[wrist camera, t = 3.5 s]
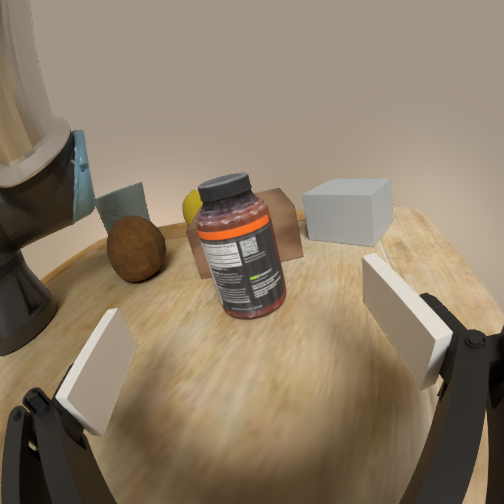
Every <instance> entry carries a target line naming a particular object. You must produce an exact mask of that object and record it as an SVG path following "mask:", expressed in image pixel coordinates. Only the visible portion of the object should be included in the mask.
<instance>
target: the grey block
mask: <svg viewBox="0 0 504 504" xmlns="http://www.w3.org/2000/svg"><path fill="white" fill-rule="evenodd" d="M302 200H303V205H304V211H305V217H306V223H307V229H308V236H309V240H318V241H327V242H336V243H345V244H353V245H361V246H370V247H375V245H376V244H377V243H378V241H379V240H380V239H381V237H382V236H383V235H384V233H385V232H386V230H387V229H388V228H389V226H390V225H391V223H392V222H393V204H392V191H391V179H332V180H330V181H328V182H326V183H324V184H322V185H320V186H318V187H316V188H314V189H312V190H310V191H308V192H306V193H304V194H302Z"/></svg>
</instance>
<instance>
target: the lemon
mask: <svg viewBox="0 0 504 504" xmlns="http://www.w3.org/2000/svg"><path fill="white" fill-rule="evenodd" d="M202 204H203V202H202V201H201V200H200V195H199V191H196V190H192V191H191V192H190V194H188V195H187V196H186V198H185V199H184V201H183V215H184V219H185V221H186V223H187V225H188V226H189V225H190V223H191V222H192V220H193V218H194V217H195V215H196V213H197V212H198V210H199V208H200V207H201V206H202Z"/></svg>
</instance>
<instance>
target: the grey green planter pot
mask: <svg viewBox="0 0 504 504" xmlns="http://www.w3.org/2000/svg"><path fill="white" fill-rule="evenodd" d="M95 200H96V208H97V210H98V212H99V214H100V217H101V220H102V222H103V224H104V227H105V228H106V231H107V233H109V231H110V229H111V228H112V226H113V225H114V223H115V221H117V220H119V219H121V218H122V217H124V216H128V215H131V216H141V217H143V218H145V219H147V220H149V221H150V218H149V214H148V209H147V204H146V201H145V195H144V190H143V185H142V182H140V183H137V184H134V185H130V186H128V187H125V188H122V189H119V190H117V191H114V192H111V193H109V194H106V195H104V196H101V197H99V198H97V199H95Z"/></svg>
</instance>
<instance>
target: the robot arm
mask: <svg viewBox="0 0 504 504" xmlns="http://www.w3.org/2000/svg"><path fill="white" fill-rule="evenodd" d="M95 205H96V200H95V195H94V190H93V185H92V180H91V175H90V169H89V163H88V156H87V150H86V143H85V135H84V131H83V130H74V131H73V132H71V130H70V126H69V124H68V122H67V120H66V119H64V118H62V117H58V116H54V115H53V114H52V111H51V108H50V105H49V101H48V97H47V94H46V90H45V86H44V82H43V78H42V74H41V69H40V65H39V60H38V55H37V50H36V44H35V38H34V30H33V22H32V13H31V0H0V356H1V355H5V354H8V353H10V352H12V351H14V350H16V349H18V348H20V347H21V346H23V345H24V344H26V343H27V342H28V341H30V340H31V339H32V338H33V337H35V336H36V335H37V334H38V333H39V332H40V331H41V330H42V329H43V328H44V327H45V326H46V325H47V324H48V322H49V321H50V320H51V319H52V317H53V315H54V314H55V312H56V309H57V304H56V302H55V300H54V298H53V296H52V294H51V293H50V291H49V290H48V289H47V288H46V287H45V286H44V285H43V283H42V282H41V281H40V280H39V279H38V278H37V277H36V275H35V274H33V272H32V271H31V270H30V268H29V267H28V266H27V264H26V262H25V260H24V257H23V255H22V253H21V250H20V249H21V248H23V247H25V246H27V245H29V244H31V243H33V242H35V241H37V240H39V239H41V238H43V237H45V236H48V235H50V234H52V233H54V232H56V231H58V230H61V229H63V228H65V227H67V226H70V225H73V224H75V222H77V221H79V220H80V219H82V218H84V217H86V216H88V215H90V214H91V213H92V212H93V210H94V209H95ZM362 269H363V302H364V303H365V305H366V306H367V308H368V309H369V311H370V312H371V314H372V315H373V317H374V318H375V320H376V321H377V323H378V324H379V326H380V327H381V329H382V330H383V332H384V333H385V335H386V336H387V338H388V339H389V341H390V343H391V344H392V346H393V347H394V349H395V350H396V352H397V354H398V355H399V357H400V358H401V360H402V362H403V363H404V365H405V367H406V368H407V370H408V371H409V373H410V375H411V376H412V378H413V380H414V382H415V383H416V385H417V387H418V388H419V390H420V391H421V390H423V389H425V388H427V387H429V386H431V385H433V384H435V383H436V381H437V378H438V376H439V374H440V376H441V377H442V379H443V380H444V381H443V383H442V385H441V388H440V390H439V392H438V394H437V396H439V399H438V403H437V407H436V411H435V414H434V418H433V421H432V424H431V428H430V431H429V434H428V437H427V440H426V443H425V446H424V448H423V451H422V454H421V457H420V459H419V462H418V464H417V467H416V469H415V471H414V474H413V476H412V478H411V480H410V483H409V485H408V487H407V489H406V491H405V493H404V495H403V497H402V499H401V501H400V503H399V504H462V502H463V499H464V497H465V494H466V491H467V488H468V485H469V482H470V479H471V476H472V473H473V469H474V465H475V462H476V458H477V454H478V450H479V445H480V440H481V435H482V430H483V424H484V418H485V411H486V412H487V423H488V443H489V464H488V483H487V494H486V502H485V504H504V326H503V328H502V331H501V333H499V334H494V335H490V336H486V335H485V334H484V333H482V332H481V331H478V330H475V329H473V330H467V329H466V328H465V327H464V326H463V325H462V323H461V322H460V321H459V320H458V319H457V318H456V317H455V316H454V315H453V314H452V313H451V312H450V311H448V309H447V308H446V307H445V306H444V305H442V303H441V302H440V301H439V300H438V299H437V298H436V297H434V296H432V295H430V294H428V293H423V294H421V295H418V294H417V293H416V292H415V291H414V290H413V289H412V288H411V287H410V286H409V285H408V284H407V283H406V282H405V281H404V280H403V279H402V278H401V277H400V276H399V275H398V274H397V273H396V272H395V271H394V270H393V269H392V268H391V267H390V266H389V265H387V264H386V263H385V262H384V261H383V260H382V259H381V258H380V257H379V256H378V255H377V254H376V253H373V254H369V255H365V256H362ZM137 348H138V344H137V342H136V340H135V339H134V337H133V335H132V333H131V331H130V330H129V328H128V326H127V324H126V322H125V320H124V318H123V316H122V315H121V313H120V311H119V309H118V308H115V309H109V310H107V311H106V313H105V314H104V316H103V317H102V319H101V321H100V322H99V324H98V325H97V327H96V328H95V330H94V331H93V333H92V335H91V336H90V338H89V339H88V341H87V342H86V344H85V346H84V347H83V349H82V351H81V352H80V354H79V356H78V357H77V359H76V361H75V362H74V363H73V364H72V365H71V366H70V367H69V369H68V371H67V372H66V375H65V376H64V378H63V379H62V380H63V381H61V383H60V385H59V386H58V388H57V390H56V392H55V394H54V396H53V398H52V399H51V400H50V399H49V398H48V397H47V396H46V394H45V393H44V392H43V391H42V390H41V389H40V388H37V387H35V388H33V389H31V390H29V391H28V392H27V393H26V395H25V396H24V398H23V404H24V405H25V406H26V407H27V408H28V410H29V411H30V412H28V411H27V410H26V409H25V408H24V407H23V406H17V407H15V408H14V409H12V411H11V413H10V415H9V419H8V424H7V430H6V436H5V444H4V452H3V463H2V483H1V498H2V504H117V503H116V501H115V499H114V497H113V496H112V494H111V492H110V490H109V488H108V486H107V484H106V482H105V480H104V478H103V476H102V473H101V471H100V469H99V467H98V465H97V462H96V460H95V458H94V455H93V453H92V450H91V448H90V445H89V442H88V440H87V437H86V436H85V435H84V434H83V433H82V432H83V430H84V428H85V429H86V430H87V431H88V432H89V433H90V434H91V435H95V436H101V437H104V435H105V432H106V429H107V426H108V423H109V421H110V418H111V415H112V412H113V409H114V406H115V404H116V401H117V398H118V396H119V393H120V390H121V388H122V385H123V382H124V380H125V377H126V375H127V372H128V370H129V367H130V365H131V362H132V360H133V357H134V355H135V353H136V350H137ZM29 442H30V443H31V444H33V445H34V446H35V447H36V450H35V451H34V450H33V449H31V448H30V447H29Z"/></svg>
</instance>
